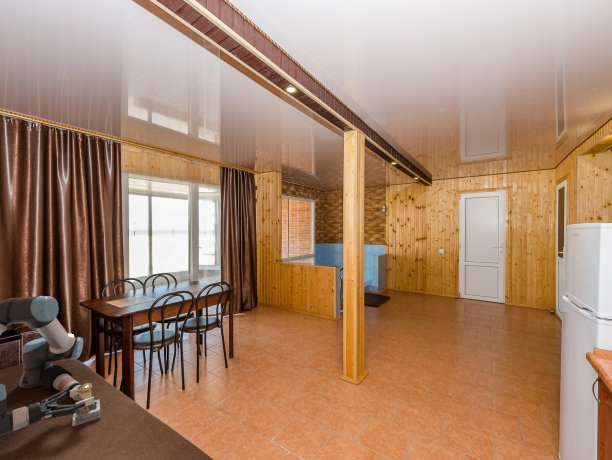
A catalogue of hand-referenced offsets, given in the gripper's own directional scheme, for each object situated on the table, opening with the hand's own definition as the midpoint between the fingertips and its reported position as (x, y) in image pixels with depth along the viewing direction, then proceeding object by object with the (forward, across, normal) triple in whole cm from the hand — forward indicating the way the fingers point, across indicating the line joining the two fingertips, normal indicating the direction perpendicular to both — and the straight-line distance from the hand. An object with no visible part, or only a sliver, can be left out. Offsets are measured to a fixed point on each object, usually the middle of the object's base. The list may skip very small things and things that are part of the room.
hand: (90, 393), depth 137 cm
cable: (-4, -29, -10) cm, 31 cm away
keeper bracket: (-2, 0, -10) cm, 10 cm away
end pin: (-2, 0, -9) cm, 9 cm away
